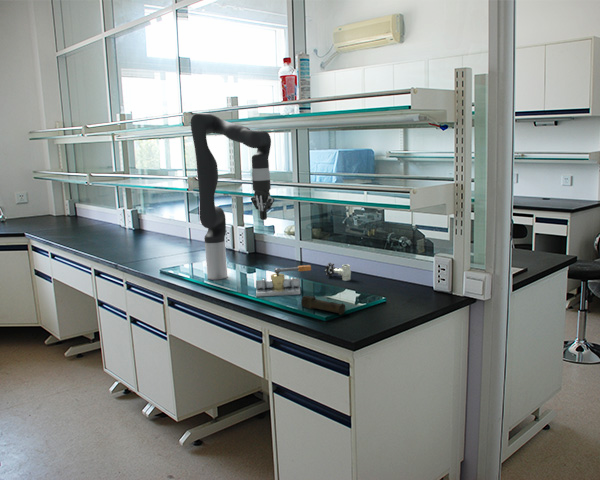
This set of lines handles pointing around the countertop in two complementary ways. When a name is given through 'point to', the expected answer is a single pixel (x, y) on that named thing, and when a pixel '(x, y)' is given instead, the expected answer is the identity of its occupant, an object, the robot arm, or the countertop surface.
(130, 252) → the countertop surface
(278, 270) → the valve lever
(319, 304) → the hand tool
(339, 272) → the valve
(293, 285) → the valve manifold
